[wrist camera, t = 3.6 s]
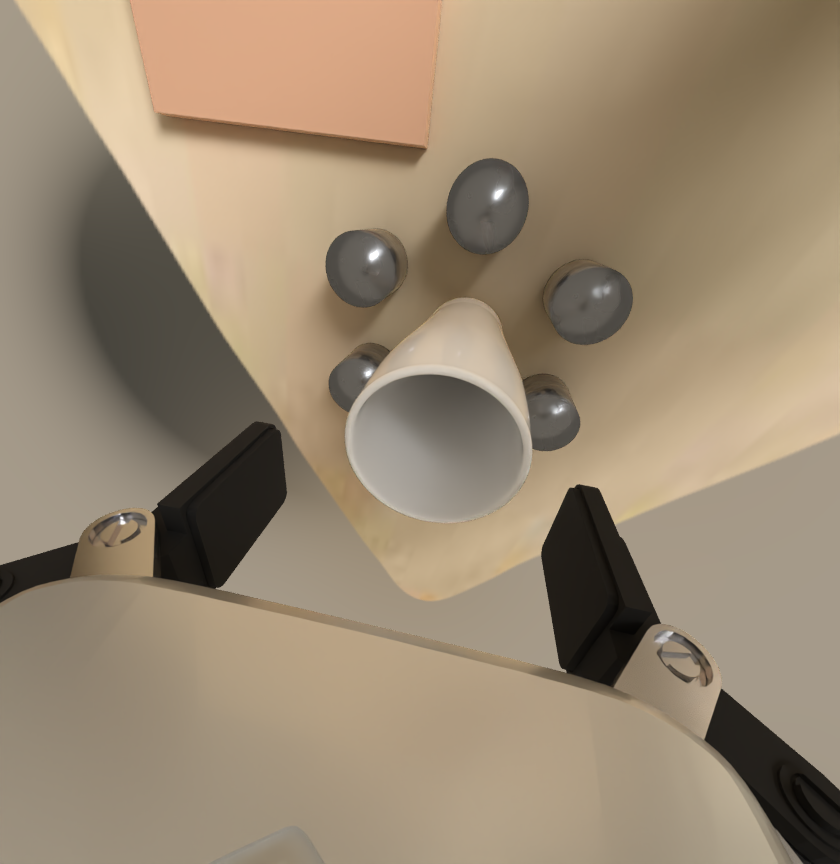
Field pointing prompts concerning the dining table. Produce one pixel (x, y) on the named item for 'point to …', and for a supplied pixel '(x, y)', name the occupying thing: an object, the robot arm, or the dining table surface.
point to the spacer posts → (482, 234)
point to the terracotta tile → (295, 64)
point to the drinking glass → (444, 420)
